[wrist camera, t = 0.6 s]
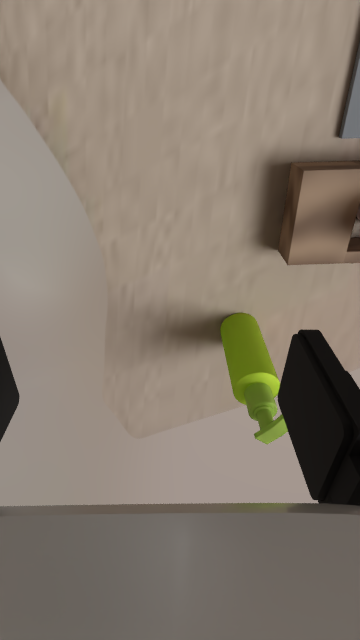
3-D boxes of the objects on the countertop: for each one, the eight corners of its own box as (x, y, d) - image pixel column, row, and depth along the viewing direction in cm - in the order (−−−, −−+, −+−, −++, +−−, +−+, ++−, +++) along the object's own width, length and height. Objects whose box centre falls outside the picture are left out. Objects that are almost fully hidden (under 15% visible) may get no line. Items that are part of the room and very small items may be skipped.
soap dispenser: (270, 320, 53) (316, 427, 37) (239, 348, 56) (269, 458, 40) (242, 301, 51) (278, 405, 35) (212, 331, 54) (232, 440, 38)
